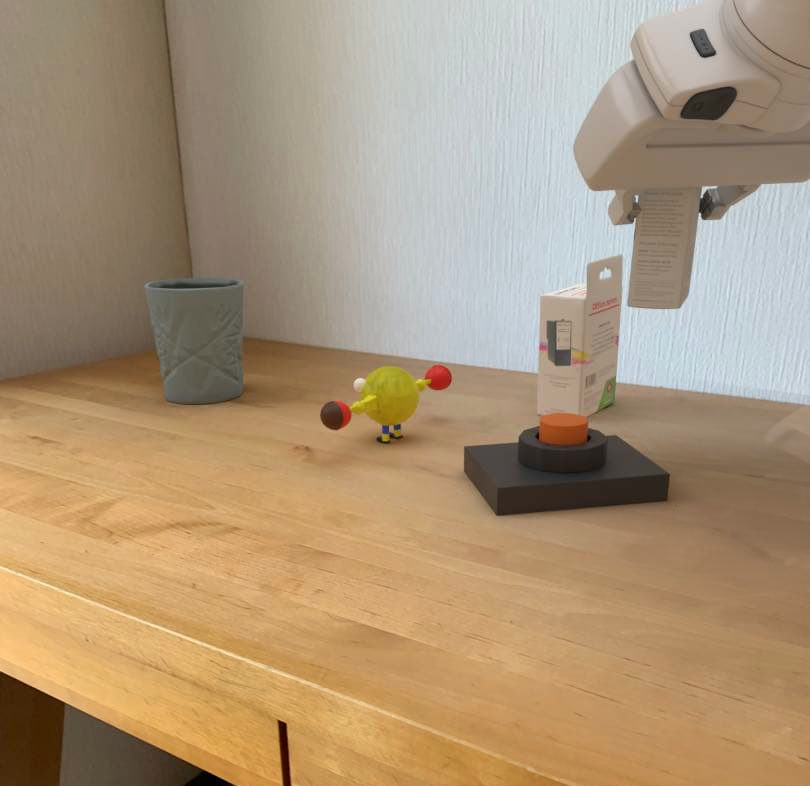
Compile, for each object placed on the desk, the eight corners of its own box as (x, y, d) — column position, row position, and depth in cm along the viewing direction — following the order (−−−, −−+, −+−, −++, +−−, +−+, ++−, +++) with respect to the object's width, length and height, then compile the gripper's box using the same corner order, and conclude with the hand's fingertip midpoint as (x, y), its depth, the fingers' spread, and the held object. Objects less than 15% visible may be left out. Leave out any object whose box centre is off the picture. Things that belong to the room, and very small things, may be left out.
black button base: (614, 459, 74) (617, 413, 72) (667, 501, 65) (673, 449, 63) (463, 471, 72) (464, 424, 70) (496, 516, 63) (498, 463, 61)
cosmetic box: (636, 297, 74) (649, 139, 69) (691, 299, 72) (709, 137, 67) (625, 308, 69) (638, 138, 64) (684, 311, 67) (703, 136, 62)
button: (577, 433, 69) (578, 411, 68) (594, 446, 65) (595, 424, 65) (532, 436, 68) (533, 414, 67) (547, 450, 65) (548, 427, 64)
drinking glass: (141, 396, 97) (125, 284, 92) (214, 379, 104) (203, 274, 99) (197, 410, 91) (183, 291, 86) (271, 391, 98) (262, 280, 93)
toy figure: (420, 413, 88) (419, 345, 85) (467, 421, 85) (468, 351, 82) (301, 461, 75) (295, 383, 72) (352, 473, 72) (348, 392, 69)
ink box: (571, 396, 93) (580, 250, 87) (616, 403, 90) (627, 252, 84) (533, 415, 87) (539, 259, 81) (579, 422, 84) (589, 262, 78)
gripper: (873, 28, 60) (755, 180, 72) (616, 21, 54) (535, 189, 66) (915, 96, 58) (786, 241, 70) (652, 97, 52) (561, 256, 64)
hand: (662, 216), depth 68 cm, fingers closed on cosmetic box, 7 cm apart
